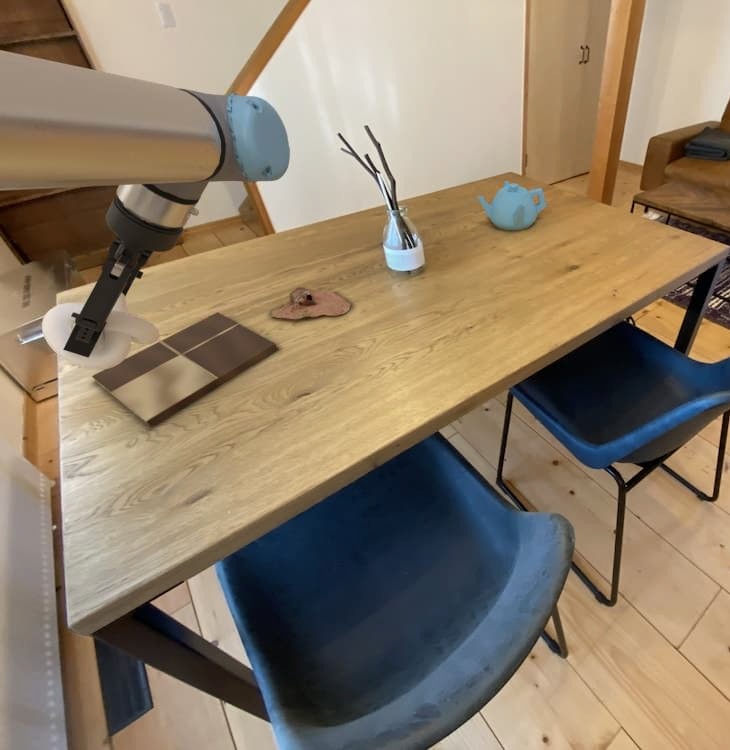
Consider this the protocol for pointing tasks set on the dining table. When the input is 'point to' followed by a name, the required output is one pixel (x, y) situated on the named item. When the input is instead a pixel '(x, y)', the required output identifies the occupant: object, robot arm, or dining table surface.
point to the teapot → (514, 207)
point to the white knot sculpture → (111, 340)
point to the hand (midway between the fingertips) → (93, 327)
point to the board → (184, 367)
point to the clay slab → (312, 304)
